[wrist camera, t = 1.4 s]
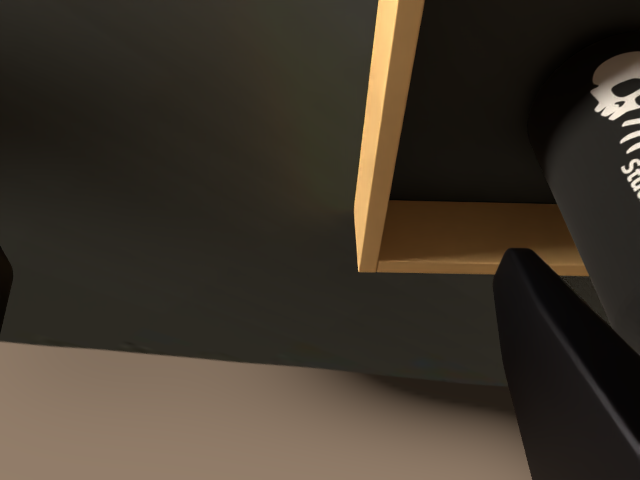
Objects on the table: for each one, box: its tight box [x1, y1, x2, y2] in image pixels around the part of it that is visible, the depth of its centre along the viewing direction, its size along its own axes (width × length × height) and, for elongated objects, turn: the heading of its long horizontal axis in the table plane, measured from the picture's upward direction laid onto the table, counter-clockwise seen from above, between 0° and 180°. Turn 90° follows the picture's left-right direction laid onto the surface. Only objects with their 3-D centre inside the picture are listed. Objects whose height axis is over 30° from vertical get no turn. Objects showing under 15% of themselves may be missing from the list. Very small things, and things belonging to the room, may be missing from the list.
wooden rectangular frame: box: [354, 0, 589, 276], centre depth 21 cm, size 17×14×4 cm
